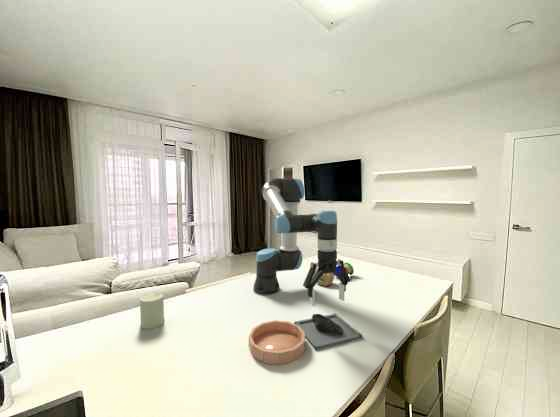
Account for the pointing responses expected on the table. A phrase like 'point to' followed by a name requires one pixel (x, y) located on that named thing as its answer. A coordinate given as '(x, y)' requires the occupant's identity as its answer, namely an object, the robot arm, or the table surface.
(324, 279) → the stone
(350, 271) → the toy figure
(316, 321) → the stone
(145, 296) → the can
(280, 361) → the bowl
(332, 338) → the tray
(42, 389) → the table surface
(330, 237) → the robot arm
